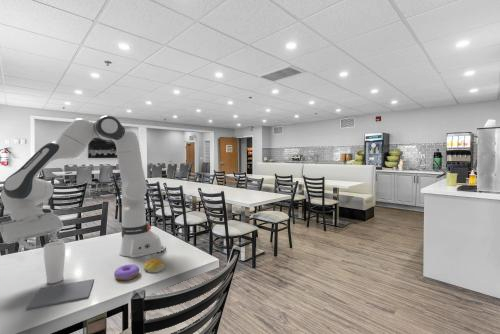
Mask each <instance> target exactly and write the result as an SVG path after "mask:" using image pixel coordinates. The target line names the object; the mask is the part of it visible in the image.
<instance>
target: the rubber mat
mask: <svg viewBox="0 0 500 334" xmlns="http://www.w3.org/2000/svg"><path fill="white" fill-rule="evenodd" d="M94 281H95V279H93V278H92V279H87V280H81V281H74V282H68V283H62V284H58V285H57V284H55V285H51V286H45V287H40V288H39V290H37V293H36V294H35V296H34V297H33V298H32V299H31V301H30V303H28V305H27V307H26V310H25V311H29V310H28V309H30V310H34V309H33V308H35V309H40V308H44V307H50V306H55V305H59V304H60V305H61V304H66V303H70V302H74V301H81V300H85V299H89V298H90V297H89V296H90V293H91V290H92V288H93V285H94Z"/></svg>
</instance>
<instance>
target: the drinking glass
mask: <svg viewBox="0 0 500 334" xmlns="http://www.w3.org/2000/svg"><path fill="white" fill-rule="evenodd" d="M65 258H66V243H65V241H62V240H60V241H51V242H48V243H46V244H44V245H43V260H44V267H45V275H46V276H45V277H46V283H47V284H50V285H51V284H56V283H59V282H61V281H62V280H64V271H65Z"/></svg>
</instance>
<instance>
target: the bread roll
mask: <svg viewBox="0 0 500 334" xmlns="http://www.w3.org/2000/svg"><path fill="white" fill-rule="evenodd" d="M143 265H144V266H143V268H144V269H143V270H144V271H145V272H148V273H150V274H151V273H159V272H161V271H163V270H164V269H165V267H166V263H165V262H164V261H163V260H160V259H157V258H152V259H149V260H147V261H146V262H145V263H144V264H143Z"/></svg>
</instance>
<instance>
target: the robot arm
mask: <svg viewBox="0 0 500 334" xmlns="http://www.w3.org/2000/svg"><path fill="white" fill-rule="evenodd" d="M93 139H98V140H101V141H112V142H113V143H114V144H115V148H116V149H115V150H116V156H117V164H118V169H119V176H120V181H121V207H122V208H121V209H122V214H121V216H122V218H121V219H122V225H121V231H120V232H121V235H120V236H121V245H120V250H119V253H118V254H119V255H120V256H122V257H130V258H132V259H133V258H139V257H144V256H150V255H153V254H157V252H159V253H161V251H163V250H164V249H165V250H166V245H165V244H164V243H163V242H161V238H160V236H159V235H158V234H157V233H155V232H153V230H151V229H152V227H151V225H150V224H149V223H146V203H145V196H146V194H147V192H148V191H147V190H148V188H147V182H146V181H147V180H146V177H145V172H144V167H143V162H142V161H143V160H142V155H141V148H140V143H139V139H138V136H137V134H136V133H135V132H134V131H133V130H130V129H128V130H127V129H125V127H124V126H123V125H122V123H121V121H119V119H117V118H116V117H115V116H113V115H103V116H100V117H99V118H98V119H96V121H94V122H93V121H89V120H88V119H86V118H76V119H74V120H73V121H72V122H70V123H69V124H68V126H67V127H65V129H64V130H63V131H62V132H61V133H60V135H59V136H58V137H57V138H56V139H54V140H53V141H51V142H48V143H46V144H44V145H43V146H42V147H40V148H39V149H38V150H37V151H36V152H35V153H34V154H33V155H32V156H31V157H30V158H29V159H28V160H27V161H26V162H25V163H24V164H23V165H22V166H21V167H20V168H19V169H18V170H16V171H15V172H13V173H11V174H10V175H9V176H8V177H7V178H6V179H5V180H4V182H3V184H2V185H3V189H2V190H1V192H0V199H1V202H2V204H3V206H4V208H5V210H6V211H7V212H8V213H9V216H10V219H11V220H9V221H2V222H0V234H1V238H2V241H3V243H4V244H7V245H9V244H14V243H18V245H20V246H23V247H24V248H25V249H26V250H27V249H31V248H32V247H33V244H32V242H31V241H30V242H28V241H26V240H30V239H34V238H38V237H43V236H47V235H52V236H51V238H50V240H51V242H57V240H58V235H57V234H58V232H61V230H62V229H63V228H64V223H63V221H62V219H60V217H59V216H58V215H57V214H55V213H54V210H53V209H52V208H42V207H37V206H39V205H41V204H43V203H45V202H47V201H48V200H50V199H51V198H52V197H53V195H54V193H55V187H54V184H53V183H52V182H51V181H48V180H45V179H42V178H38V177H37V176H38V175H39V174H40V173H41V172H42V171H43V170H44V168H46V167H47V166H48V165H49V164H50V163H51V162H53V161H55V160H62V159H63V160H65V159H66V160H68V159H69V160H71V159H75V158H78V157H80V155H82V154H83V152H84V151H85V149H86V148H87V147H88V145H89V144H90V143H91V142H92V140H93ZM165 250H164V251H165ZM164 251H163V252H164Z"/></svg>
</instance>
